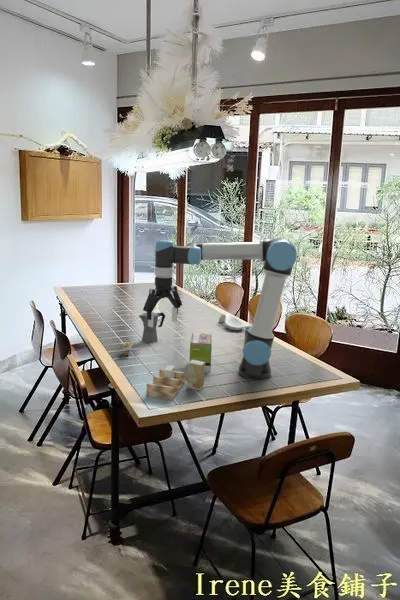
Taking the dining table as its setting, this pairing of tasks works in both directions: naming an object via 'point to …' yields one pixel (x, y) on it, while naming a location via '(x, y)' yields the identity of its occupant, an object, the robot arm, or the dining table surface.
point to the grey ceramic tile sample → (169, 372)
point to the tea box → (201, 349)
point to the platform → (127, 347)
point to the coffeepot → (150, 332)
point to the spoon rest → (232, 322)
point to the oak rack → (165, 385)
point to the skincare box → (196, 374)
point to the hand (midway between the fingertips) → (162, 324)
